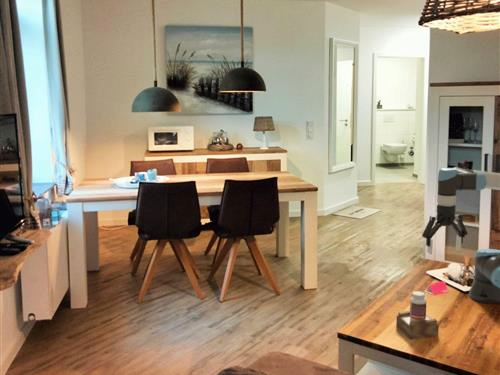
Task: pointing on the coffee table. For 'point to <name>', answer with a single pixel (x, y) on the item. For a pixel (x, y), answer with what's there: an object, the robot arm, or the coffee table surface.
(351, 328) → the coffee table surface
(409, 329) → the brown square open box
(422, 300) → the pill bottle
